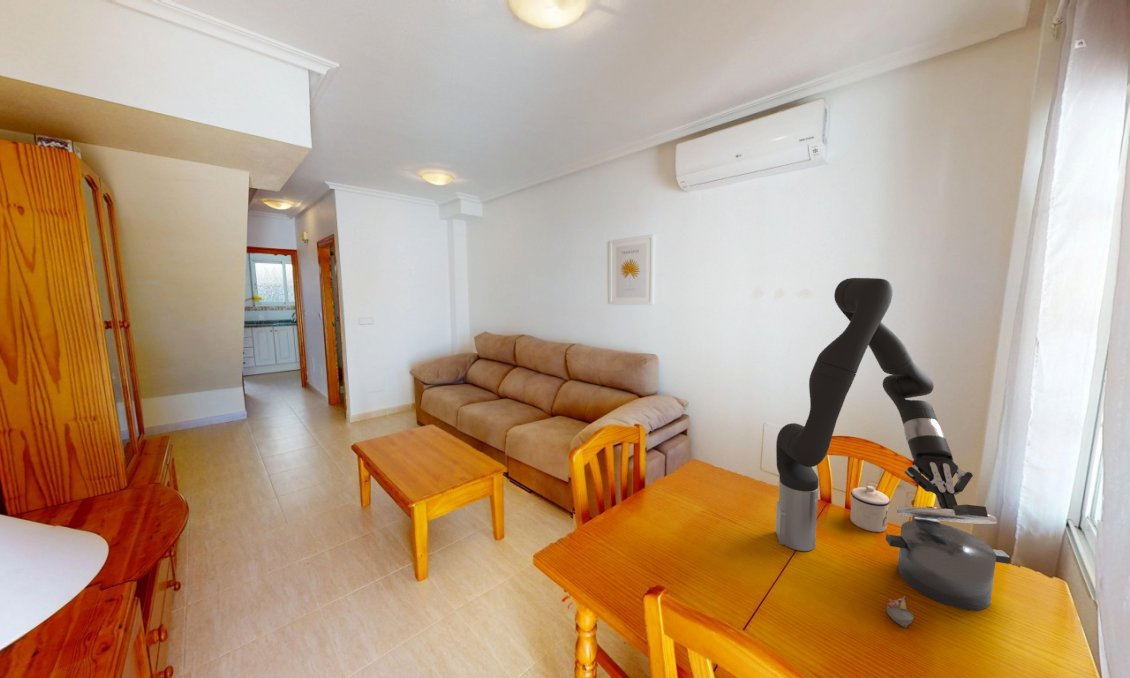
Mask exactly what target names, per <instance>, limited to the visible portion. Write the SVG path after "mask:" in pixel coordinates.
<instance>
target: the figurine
mask: <svg viewBox="0 0 1130 678" xmlns="http://www.w3.org/2000/svg"><path fill="white" fill-rule="evenodd" d="M908 599H909V598H908V596H907V595H904V596H903V598H902V597H900V598H899V599H895V600H892V599H889V601H890V602H887V604H886V605H887V606H886V611H887V612H886V613H887V615H888V616H889V617H890V618H891V619H892V621H893V622H895V623H896V624H898V625H899V626H901V627H903V628H908V625H910V624H911V623H913V619H914V618H915V616H914V614H913V613H912V612H911V611H909V610H908V609H907V607H908V606H907V603H906V602H908ZM899 601H901V602H899Z"/></svg>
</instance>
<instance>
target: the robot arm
mask: <svg viewBox="0 0 1130 678" xmlns="http://www.w3.org/2000/svg"><path fill="white" fill-rule="evenodd" d="M893 294H894V290H893V286H892V284H891V282H890V281H888V280H887V279H884V278H878V277H877V278H876V277H875V278H874V277H851V278H849V277H848V278H845V279H843V280H842V281H840V282H839V283H838V284H837V286H836V288H835V290H834V296H833V297H834V301H835V304H836V305H837V307H838V308H839V310H840V311H841V312H842V313H843V315H844V316H845V317H846V318H847V320H848V321H849V324H848V325H847V326H846V328H845V329H844V330H843V332H841V334H840V335H838V336H837V337H836V338H834V339H833V340H832V341H831V342H830V343H829V344H828V345H827V346H826V347H824V349H822V351H821V352H820V353H819V354H818V356H817V358H816V360H815V363H814V365H813V367H812V370H811V372H810V375H809V378H808V379H809V380H808V381H809V382H808V389H809V391H808V392H809V400H810V403H809V404H810V405H809V406H810V408H809V412H808V413H809V414H808V417H807V419H806V422H805V425H804V426H803V425H801V424H800V423H795V422H794V423H788V424H786V425H784V426H783V427H782V428H780V430H779V431H778V434H777V437H776V445H775V446H776V448H775V451H776V452H775V453H776V458H775V459H776V468H777V471H778V476H779V484H778V501H776V511H775V512H776V516H775V517H776V518H775V519H776V520H775V521H776V522H775V535H776V537H777V540H778V544H779V545H781V546H786V547H788V548H790V549H792V550H795V551H800V552H809V551H812V550H814V549H815V547H816V539H817V537H816V536H817V535H816V534H817V515H818V514H817V513H818V499H819V498H818V497H819V477H818V475H817V473H816V472H815V470H814V469H813V467H816V466H817V465H820V464H821V463H822V462H823V460H824V459H825V457H826V456H827V454H828V451H829V448H830V445H831V443H832V438H833V435H834V431H835V427H836V423H837V421H838V417H839V416H840V414H841V411H842V408H843V406H844V403H845V399H846V397H847V396H848V393H849V391H850V389H851V386H852V384H853V382H854V380H855V378H856V375H857V373H858V370H859V367H860V364H861V363H862V361H863V357H864V355H865V353H866V350H867V349H868V347H869V349H870V350H871V352H872V354H873V356H874V357H875V359H876V362H877V363H878V365H879V367H880V369H881V370H882V372H884V373H885V374H888V376H886V377H884V379H883V381H882V388H883V390H884V392H885V393H886V395H887V396H888V397H889V398H890V400H891V401H892V402H893V404H894V406H896V409H897V410H898V413H899V416H900V419H901V421H902V424H903V428H904V429H903V430H904V434H905V435H904V436H905V440H906V441H907V446H908V448H909V450H910V454H911V457H912V459H913V461H912V466H908V467H907V468H906V469H905V470H904V474H905V475H906V476H908V477H909V478H910V479H911V480H912V481H914V483H916V484H917V486H919V487H921V488H922V489H923V490H924V491H925V492H928V493H933V494H934V495H935V496H936V500H937V501H938V504H939V508H942V509H953V506H956V505H958V503H957V500H956V497H955V496H956V495H959V494H960V493H962V492H963V491H964V489H965V488H966V487H967V485H968V484H969V482H970V481H971V479H972V478H973V476H974V475H973V473H972V472H971V471H964V470H962V469H960V468H959V465H958V464H957V463H956V462H955V461H954V458H953V454H952V451H951V449H950V446H949V443H948V441H947V439H946V435H945V433H944V431H943V429H942V427H941V425H940V423H939V421H938V418H937V415H936V413H935V410H934V407H933V406H932V404H931V403H930V402H928V401H925V400H919V399H916V400H915V399H910V398H917V397H922V396H927V395H930V394H931V393H932V392H933V390H934V385H935V384H934V382H933V380H932V378H931V377H930V375H928V374H927V372H925V371H924V370H923V369H922V367H920V366H919V365H918V364H917V363H916V362H915V361H914V359H912V356H911V355H910V353H909V351H908V349H907V347H906V345H905V344H904V342H903V340H902V339H901V338H900V337H899V336H898V335H897V334H896V333H895V332H894V331H893V330H892V329H890V328H889V327H888V326H887V325H886V324H885V323H884V322H882V320H883V318H884V317H885V315H886V313H887V312H888V311H889V308H890V305H891V303H892V300H893V297H894V295H893ZM955 475H956V479H957V482H955V484H954V485H953V483H954V481H953V478H954V476H955ZM953 510H954V509H953Z"/></svg>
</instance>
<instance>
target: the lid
mask: <svg viewBox="0 0 1130 678" xmlns="http://www.w3.org/2000/svg"><path fill="white" fill-rule="evenodd" d="M895 509H896V514H897V515H901V516H904V517H905V516H906V517H910V518H912V517H916V518H923V519H931V520H938V521H939V522H951V523H961V524H962V523H963V524H976V525H977V524H978V525H979V524H981V525H982V524H983V525H985V524H986V525H987V524H988V525H989V524H990V525H991V524H992V525H995V524H998V521H997V517H996V515H993V514H989V513H988V511H987V508H986V506H983V505H975V504H974V505H972V504H959V505H958V504H957V505H956V506H953V509H954V510H953V509H942V508H941V507H939V508H938V507H937V506H926V507H924V506H898V507H896V508H895Z"/></svg>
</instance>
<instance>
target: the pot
mask: <svg viewBox="0 0 1130 678" xmlns="http://www.w3.org/2000/svg"><path fill="white" fill-rule="evenodd" d="M911 518H912V519H911V520H908V521H906V522H904V523H902V524H901V526H900V535H895V534H888V533H886V535H885V541H886V542H887V544H888V546H890V547H893V548H899V550H898V559H897V561H898V562H897V571H898V574H899V577H900V578H902V580H903V582H904V583H905V584H907V585H908V586H909V587H911V588H912V589H913V590H915V591H916V592H917V593H919V594H921V595H923V596H925V597H926V598H929V599H930V600H933V601H935V602H938V603H939V604H942V605H945V606H948V607H952V608H954V609H960V610H964V611H966V610H967V611H983V610H986V609H987V608H989V607H991V602H992V595H993V587H994V579H995V578H994V577H995V570H996V563H1000V564H1001V563H1002V564H1006V565H1007V564H1009V565H1010V564H1011V556H1009V555H1008V554H1007V553H1006V552H1005V551H1004V550H1001V549H995V548H994V549H993V548H992V547H991V546H990V545H988V544H987V543H986V542H985V541H983V540H982V539H980V538H979V537H976V536H975V535H973V534H971V533H969V532H967V531H964V530H962V529H960V528H957V527H954V526H950V525H947V524H945V523H944V524H943V523H941V521H939V520H931V519H923V518H916V517H911Z"/></svg>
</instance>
